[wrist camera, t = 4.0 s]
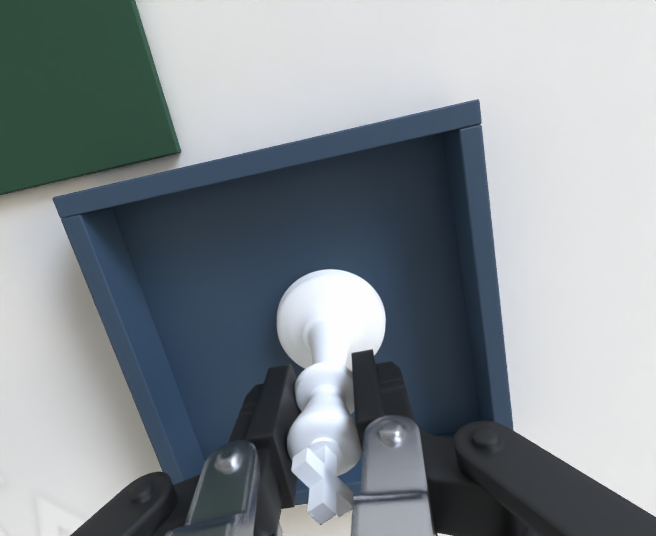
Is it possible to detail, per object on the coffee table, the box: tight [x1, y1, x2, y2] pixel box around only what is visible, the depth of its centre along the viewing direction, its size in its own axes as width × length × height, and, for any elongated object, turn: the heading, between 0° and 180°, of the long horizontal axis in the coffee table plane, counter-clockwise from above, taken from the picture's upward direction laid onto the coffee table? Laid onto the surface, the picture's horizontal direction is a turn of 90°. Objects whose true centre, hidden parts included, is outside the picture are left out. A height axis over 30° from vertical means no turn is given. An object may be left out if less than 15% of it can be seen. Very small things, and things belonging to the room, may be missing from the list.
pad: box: [0, 0, 181, 195], centre depth 15 cm, size 9×9×1 cm
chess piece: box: [277, 269, 386, 525], centre depth 13 cm, size 5×5×10 cm
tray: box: [53, 99, 513, 505], centre depth 17 cm, size 16×16×2 cm
